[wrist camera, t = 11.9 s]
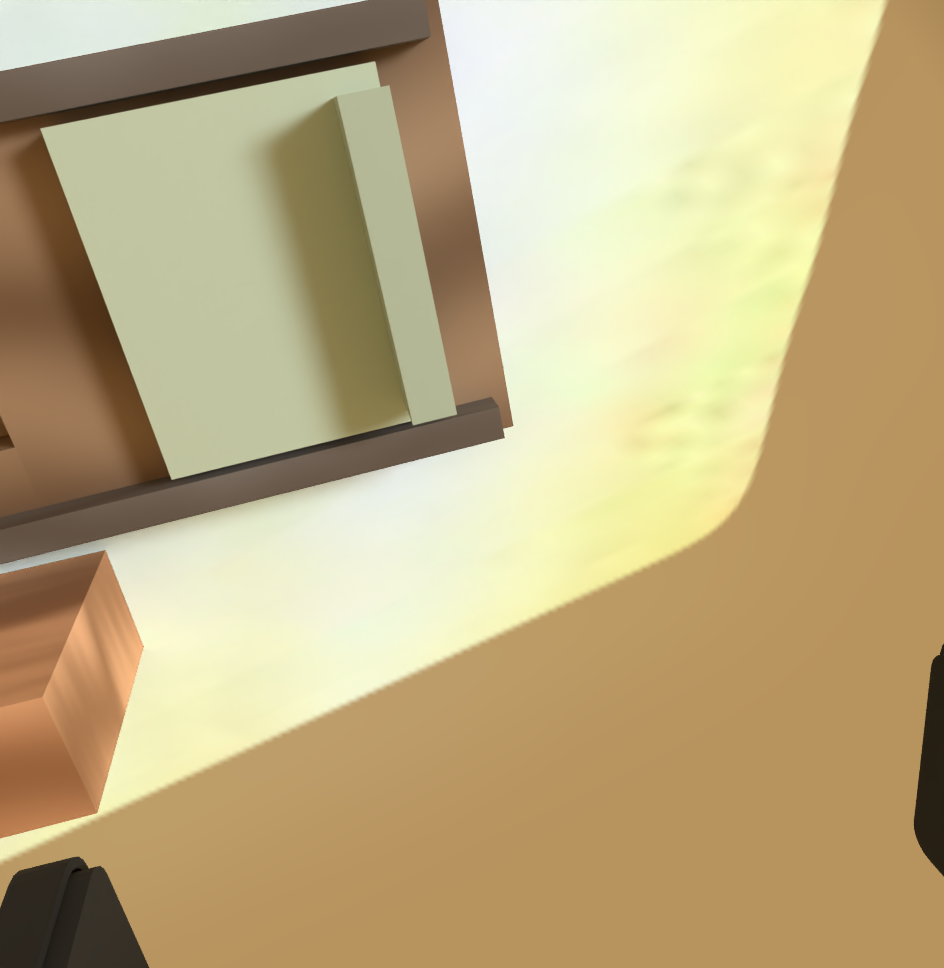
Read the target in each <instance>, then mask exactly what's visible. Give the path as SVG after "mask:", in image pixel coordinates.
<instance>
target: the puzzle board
mask: <svg viewBox="0 0 944 968" xmlns="http://www.w3.org/2000/svg"><path fill="white" fill-rule="evenodd" d="M374 61H375V63H376V68H377V73H378V77H379V82H380V87H383V86H388V85H389V86H390V91H391V96H392V101H393V106H394V110H395V115H396V120H397V125H398V130H399V135H400V140H401V144H402V149H403V154H404V159H405V164H406V169H407V173H408V178H409V183H410V188H411V193H412V198H413V203H414V207H415V212H416V217H417V222H418V227H419V232H420V237H421V241H422V246H423V251H424V256H425V261H426V266H427V271H428V275H429V280H430V285H431V290H432V295H433V300H434V305H435V309H436V314H437V319H438V324H439V329H440V334H441V338H442V343H443V348H444V353H445V358H446V363H447V368H448V372H449V377H450V382H451V387H452V392H453V397H454V402H455V406H456V411H457V415H453V416H449V417H445V418H441V419H437V420H433V421H429V422H425V423H420V424H416V425H413V424H412V421H409V422H405V423H401V424H397V425H393V426H389V427H385V428H381V429H377V430H373V431H369V432H365V433H360V434H356V435H352V436H348V437H344V438H340V439H336V440H332V441H328V442H324V443H320V444H316V445H312V446H308V447H303V448H299V449H295V450H291V451H287V452H283V453H279V454H275V455H271V456H267V457H263V458H259V459H255V460H251V461H247V462H242V463H238V464H234V465H230V466H226V467H222V468H218V469H214V470H210V471H206V472H202V473H198V474H194V475H190V476H185V477H181V478H177V479H173V480H172V479H171V477H170V474H169V471H168V469H167V466H166V463H165V461H164V458H163V455H162V453H161V450H160V447H159V445H158V442H157V439H156V437H155V434H154V431H153V429H152V426H151V423H150V421H149V418H148V415H147V413H146V410H145V407H144V404H143V402H142V399H141V396H140V394H139V391H138V388H137V386H136V383H135V380H134V378H133V375H132V372H131V370H130V367H129V364H128V362H127V359H126V356H125V354H124V351H123V348H122V346H121V343H120V340H119V338H118V335H117V332H116V330H115V327H114V324H113V322H112V319H111V316H110V314H109V311H108V308H107V306H106V303H105V300H104V298H103V295H102V292H101V290H100V287H99V284H98V282H97V279H96V276H95V274H94V271H93V268H92V266H91V263H90V260H89V258H88V255H87V252H86V250H85V247H84V244H83V242H82V239H81V236H80V234H79V231H78V228H77V226H76V223H75V220H74V218H73V215H72V212H71V210H70V207H69V204H68V202H67V199H66V196H65V194H64V191H63V188H62V186H61V183H60V180H59V178H58V175H57V172H56V170H55V167H54V164H53V162H52V159H51V156H50V154H49V151H48V148H47V146H46V143H45V140H44V138H43V135H42V132H41V130H40V129H41V128H46V127H51V126H56V125H61V124H66V123H71V122H76V121H81V120H86V119H90V118H95V117H100V116H105V115H110V114H115V113H120V112H125V111H130V110H135V109H140V108H145V107H150V106H155V105H160V104H165V103H170V102H175V101H180V100H185V99H190V98H195V97H200V96H205V95H210V94H215V93H220V92H225V91H230V90H235V89H240V88H245V87H250V86H255V85H260V84H265V83H270V82H275V81H280V80H285V79H290V78H295V77H300V76H305V75H310V74H315V73H320V72H324V71H329V70H334V69H339V68H344V67H349V66H354V65H359V64H364V63H369V62H374ZM511 426H513V422H512V416H511V410H510V405H509V399H508V393H507V388H506V382H505V376H504V371H503V365H502V359H501V354H500V348H499V342H498V337H497V331H496V325H495V320H494V314H493V308H492V303H491V297H490V291H489V286H488V280H487V274H486V269H485V263H484V257H483V252H482V246H481V240H480V235H479V229H478V223H477V218H476V212H475V206H474V201H473V195H472V189H471V184H470V178H469V173H468V167H467V161H466V156H465V150H464V144H463V139H462V133H461V127H460V122H459V116H458V110H457V105H456V99H455V93H454V88H453V82H452V76H451V71H450V65H449V59H448V54H447V48H446V42H445V37H444V31H443V25H442V20H441V14H440V8H439V3H438V0H367V1H362V2H357V3H352V4H346V5H341V6H336V7H331V8H326V9H321V10H315V11H310V12H305V13H300V14H295V15H290V16H284V17H279V18H274V19H269V20H264V21H258V22H253V23H248V24H243V25H238V26H233V27H227V28H222V29H217V30H212V31H207V32H202V33H196V34H191V35H186V36H181V37H176V38H171V39H165V40H160V41H155V42H150V43H145V44H139V45H134V46H129V47H124V48H119V49H114V50H108V51H103V52H98V53H93V54H88V55H83V56H77V57H72V58H67V59H62V60H57V61H52V62H46V63H41V64H36V65H31V66H26V67H20V68H15V69H10V70H5V71H0V564H4V563H8V562H12V561H16V560H20V559H24V558H28V557H32V556H36V555H40V554H44V553H48V552H52V551H56V550H60V549H64V548H68V547H72V546H75V545H79V544H83V543H87V542H91V541H95V540H99V539H103V538H107V537H111V536H115V535H119V534H123V533H127V532H131V531H135V530H139V529H143V528H147V527H151V526H155V525H159V524H163V523H167V522H171V521H175V520H179V519H183V518H187V517H191V516H195V515H199V514H203V513H207V512H211V511H215V510H219V509H223V508H227V507H231V506H235V505H239V504H243V503H247V502H251V501H255V500H259V499H263V498H267V497H271V496H275V495H279V494H283V493H287V492H291V491H295V490H299V489H303V488H307V487H311V486H315V485H319V484H323V483H327V482H331V481H335V480H339V479H343V478H347V477H351V476H355V475H359V474H363V473H367V472H371V471H375V470H379V469H383V468H387V467H391V466H395V465H399V464H403V463H407V462H411V461H415V460H419V459H423V458H427V457H431V456H435V455H439V454H443V453H447V452H451V451H455V450H458V449H462V448H466V447H470V446H474V445H478V444H482V443H486V442H490V441H494V440H498V439H502V438H505V437H504V432H503V428H507V427H511Z"/></svg>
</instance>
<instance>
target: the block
mask: <svg viewBox="0 0 944 968" xmlns="http://www.w3.org/2000/svg"><path fill="white" fill-rule="evenodd" d="M143 647H144V646H143V644H142V641H141V639H140V636H139V634H138V631H137V629H136V626H135V624H134V621H133V619H132V616H131V613H130V611H129V608H128V606H127V603H126V601H125V598H124V596H123V593H122V591H121V588H120V586H119V583H118V581H117V578H116V576H115V573H114V570H113V568H112V565H111V563H110V560H109V558H108V555H107V553H106V550H105V551H100V552H96V553H91V554H87V555H83V556H78V557H74V558H69V559H65V560H61V561H56V562H52V563H47V564H43V565H39V566H34V567H30V568H25V569H21V570H17V571H12V572H8V573H3V574H0V838H3V837H7V836H11V835H15V834H19V833H23V832H26V831H30V830H34V829H38V828H42V827H46V826H49V825H53V824H57V823H61V822H65V821H69V820H72V819H76V818H80V817H84V816H88V815H92V814H95V813H97V812H98V808H99V805H100V801H101V798H102V794H103V790H104V787H105V783H106V780H107V776H108V772H109V769H110V765H111V762H112V758H113V755H114V751H115V747H116V744H117V740H118V737H119V733H120V729H121V726H122V722H123V719H124V715H125V712H126V708H127V704H128V701H129V697H130V694H131V690H132V687H133V683H134V679H135V676H136V672H137V669H138V665H139V661H140V658H141V654H142V651H143Z"/></svg>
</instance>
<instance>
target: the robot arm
mask: <svg viewBox="0 0 944 968" xmlns="http://www.w3.org/2000/svg"><path fill="white" fill-rule="evenodd" d="M914 830H915V834H916V837H917V840H918V843H919V845H920V847H921V848H922V850H923V852H924V853H925V855H926V856H927V858H928V859H929V860H930V861H931V862H932V863H933V865H934V866H935V867H936V868H937V869H938V870H939V872H940V873H941V874H942V875H943V876H944V644H943V646H942V649H941V652H940V655H938V656H936V657H935V658H934V659H933V662H932V665H931V673H930V683H929V692H928V700H927V709H926V718H925V727H924V737H923V745H922V754H921V763H920V772H919V781H918V790H917V799H916V808H915V816H914ZM0 968H149V966H148V964H147V962H146V960H145V957H144V955H143V953H142V951H141V949H140V946H139V944H138V942H137V940H136V937H135V935H134V933H133V931H132V928H131V926H130V924H129V922H128V919H127V917H126V915H125V913H124V911H123V908H122V906H121V904H120V902H119V900H118V897H117V895H116V893H115V891H114V888H113V886H112V884H111V882H110V879H109V877H108V875H107V873H106V872H105V870H104V868H102V867H101V866H98V867H94V868H90V869H89V868H88V866H87V865H86V863H85V862H84V860H83V859H81V858H80V857H72V858H69V859H65V860H61V861H56V862H53V863H48V864H44V865H40V866H36V867H32V868H28V869H24V870H21V871H18V872H17V873H16V874H15V875H14V876H13V878H12V880H11V882H10V884H9V886H8V888H7V891H6V894H5V897H4V899H3V902H2V905H1V907H0Z"/></svg>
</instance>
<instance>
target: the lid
mask: <svg viewBox="0 0 944 968" xmlns="http://www.w3.org/2000/svg"><path fill="white" fill-rule="evenodd" d="M40 130H41V132H42V135H43V138H44V140H45V143H46V146H47V148H48V151H49V154H50V156H51V159H52V162H53V164H54V167H55V170H56V172H57V175H58V178H59V180H60V183H61V186H62V188H63V191H64V194H65V196H66V199H67V202H68V204H69V207H70V210H71V212H72V215H73V218H74V220H75V223H76V226H77V228H78V231H79V234H80V236H81V239H82V242H83V244H84V247H85V250H86V252H87V255H88V258H89V260H90V263H91V266H92V268H93V271H94V274H95V276H96V279H97V282H98V284H99V287H100V290H101V292H102V295H103V298H104V300H105V303H106V306H107V308H108V311H109V314H110V316H111V319H112V322H113V324H114V327H115V330H116V332H117V335H118V338H119V340H120V343H121V346H122V348H123V351H124V354H125V356H126V359H127V362H128V364H129V367H130V370H131V372H132V375H133V378H134V380H135V383H136V386H137V388H138V391H139V394H140V396H141V399H142V402H143V404H144V407H145V410H146V413H147V415H148V418H149V421H150V423H151V426H152V429H153V431H154V434H155V437H156V439H157V442H158V445H159V447H160V450H161V453H162V455H163V458H164V461H165V463H166V466H167V469H168V471H169V474H170V477H171V479H172V480H173V479H177V478H181V477H185V476H190V475H194V474H198V473H202V472H206V471H210V470H214V469H218V468H222V467H226V466H230V465H234V464H238V463H242V462H247V461H251V460H255V459H259V458H263V457H267V456H271V455H275V454H279V453H283V452H287V451H291V450H295V449H299V448H303V447H308V446H312V445H316V444H320V443H324V442H328V441H332V440H336V439H340V438H344V437H348V436H352V435H356V434H360V433H365V432H369V431H373V430H377V429H381V428H385V427H389V426H393V425H397V424H401V423H405V422H409V421H412V424H413V425H416V424H420V423H425V422H429V421H433V420H437V419H441V418H445V417H449V416H453V415H457V411H456V406H455V402H454V397H453V392H452V387H451V382H450V377H449V372H448V368H447V363H446V358H445V353H444V348H443V343H442V338H441V334H440V329H439V324H438V319H437V314H436V309H435V305H434V300H433V295H432V290H431V285H430V280H429V275H428V271H427V266H426V261H425V256H424V251H423V246H422V241H421V237H420V232H419V227H418V222H417V217H416V212H415V207H414V203H413V198H412V193H411V188H410V183H409V178H408V173H407V169H406V164H405V159H404V154H403V149H402V144H401V140H400V135H399V130H398V125H397V120H396V115H395V110H394V106H393V101H392V96H391V91H390V86H389V85H388V86H383V87H380V82H379V77H378V73H377V68H376V63H375V61H374V62H369V63H364V64H359V65H354V66H349V67H344V68H339V69H334V70H329V71H324V72H320V73H315V74H310V75H305V76H300V77H295V78H290V79H285V80H280V81H275V82H270V83H265V84H260V85H255V86H250V87H245V88H240V89H235V90H230V91H225V92H220V93H215V94H210V95H205V96H200V97H195V98H190V99H185V100H180V101H175V102H170V103H165V104H160V105H155V106H150V107H145V108H140V109H135V110H130V111H125V112H120V113H115V114H110V115H105V116H100V117H95V118H90V119H86V120H81V121H76V122H71V123H66V124H61V125H56V126H51V127H46V128H41V129H40Z"/></svg>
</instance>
